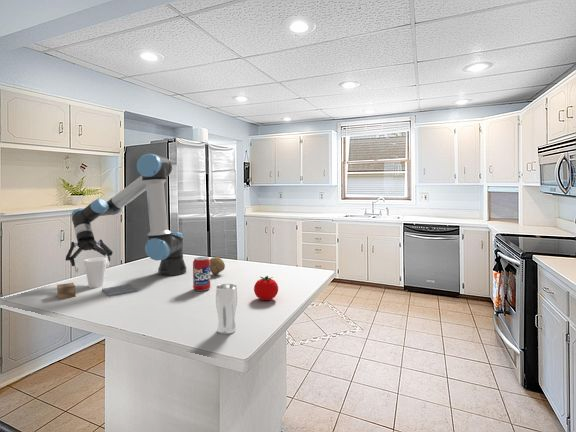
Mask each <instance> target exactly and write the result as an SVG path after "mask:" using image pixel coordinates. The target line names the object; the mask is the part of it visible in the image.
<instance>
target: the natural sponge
mask: <svg viewBox="0 0 576 432" xmlns="http://www.w3.org/2000/svg"><path fill="white" fill-rule="evenodd" d="M209 260H210V274H212V275H213V276H217V275H218V274H220V273H221V272H223V271H224V270H225V268H226V264H225V263H224V260H223V259H222V258H221V257H219V256H214V257H211V258H210V259H209Z"/></svg>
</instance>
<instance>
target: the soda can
mask: <svg viewBox="0 0 576 432" xmlns="http://www.w3.org/2000/svg"><path fill="white" fill-rule="evenodd" d="M192 288H193V290H194V291H196V292H206V291H208V290H210V289H211V271H210V259H209V257H207V256H198V257H194V260H193V261H192Z"/></svg>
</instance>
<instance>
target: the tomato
mask: <svg viewBox="0 0 576 432" xmlns="http://www.w3.org/2000/svg"><path fill="white" fill-rule="evenodd" d="M273 278H274V277H273V276H272V277H269V275H266V276H264V277H263V276H260V279H258V280H257V281H256V282H255V283H254V286H253V291H254V294H255V296H256V297H257V298H258V299H260V300H262V301H270V300H272V299H274V298H276V297H277V295H278V292H279V286H278V283H277V282H276V280H274V279H273Z"/></svg>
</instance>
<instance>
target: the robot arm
mask: <svg viewBox="0 0 576 432" xmlns="http://www.w3.org/2000/svg"><path fill="white" fill-rule="evenodd" d="M138 158H139V157H138ZM136 169H137V172H138V173H139V174H140V176H139V177H137V178H136V179H135V180H134V181H133V182H131V183H130V184H129V185H127V186H125V188H123V189H121V190H120V191H119V192H118V193H117V194H115V195H114V196H113V197H111V198H110V199H108V200H104V199H102V198H99V197H98V198H96V199H94V200H92V201H91V203H90V204H88V205H87V206H85V207H84V208H81V207H79V208H77V209H74V210H72V212H71V221H72V224H73V228H74V232H75V237H76V241H77V242H74V241H71V242H70V247H69V250H68V251H67V254H66V255H65V261H69V262H70V264H71V265H70V266H72V267H74V271H75V273H78V272H79V266H78V263H77V259H76V258H77V257H78V255H80V253H82V252H83V251H92V250H93V251H94V252H97V253H99V254H101V255H102V256H104V257H103V258H107V264H106V269H109V268H110V267H111V265H110V264H111V263H110V262H111V256H112V255H113V250H111V249H110V247H108V246H107V245H106V244H105V243H104V242H103V240H102V239H99V240H95V234H94V232H93V228H92V225H91V223H92V222H93V221H95V220H96V219H98V218H99V217H103V216H114V215H117V214H119V213H120V212H121V210H122V208H124V207H125V206H127V205H128V204H129V203H131V202H132V201H134V200H135V199H136V198H137V197H139V196H140V195H142V193H144V192H146V199H147V210H148V219H149V220H148V221H149V230H150V231H149V232H148V233H147V241H146V243H145V246H144V251H145V254H146V255H147V257H148V258H149V259H151V260H153V261H160V262H159V266H158V269H157V274H158V275H159V276H165V277H166V276H170V277H171V276H180V275H183V274H185V273H187V266H186V263H185V260H184V236H183V233H182V232H176V231H175V232H172V231H171V230H169V226H168V217H167V216H168V215H167V205H166V195H165V194H166V192H165V186H164V185H165V182H167V178H168V177H169V176H170V175H171V173H172V171H173V165H172V161H171V160H170V159H168V158H167V157H165V156H161V155H158V154H156V153H146V154H143V155H141V156H140V158H139V159H138V160H137V162H136ZM76 246H77V247H78V248H77V250H75V252H74V253H73V251H74V248H76ZM72 253H73V254H72Z"/></svg>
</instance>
